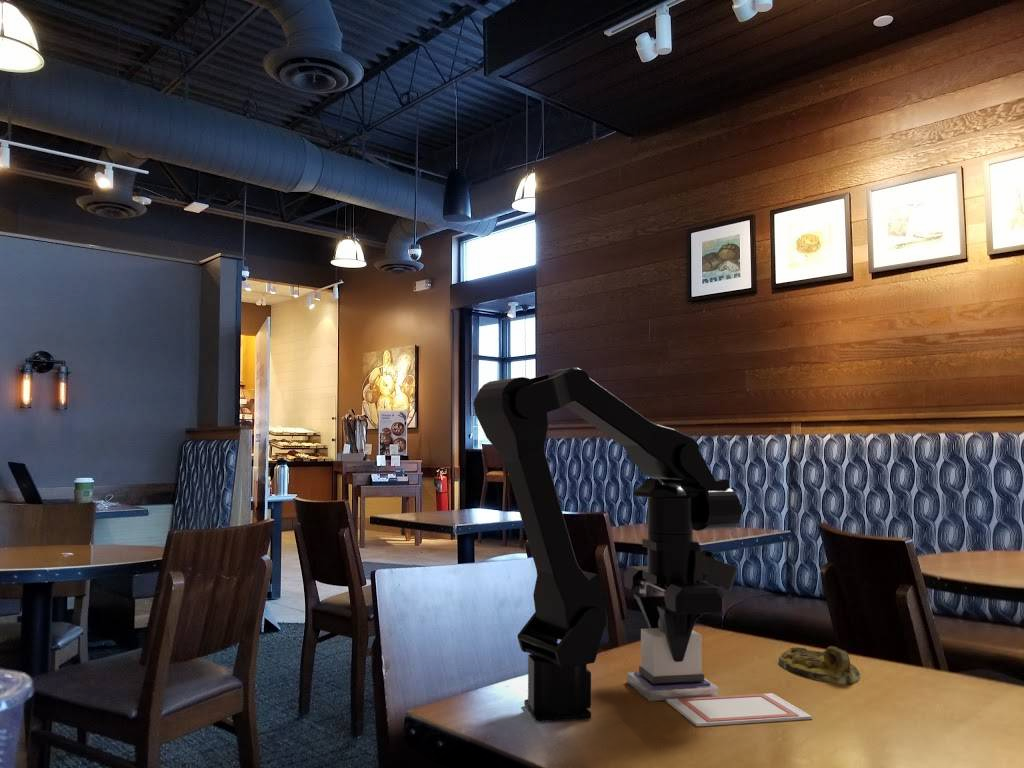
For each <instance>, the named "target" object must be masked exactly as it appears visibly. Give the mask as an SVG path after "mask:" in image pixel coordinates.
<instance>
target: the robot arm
mask: <svg viewBox="0 0 1024 768" xmlns="http://www.w3.org/2000/svg"><path fill="white" fill-rule="evenodd" d="M562 407H565V408H566V409H568V410H570V411H571V412H572V413H573V414H575V415H577V416H578V417H580V418H581V419H582V420H584V421H585V422H587V423H588V424H590V425H591V426H592V427H594V428H596V429H597V430H598V431H600V432H601V433H602V434H604V435H605V436H607V437H608V438H610V439H611V440H613V441H615V443H618V444H619V445H620V446H621V447H623V449H625V451H627V454H628V455H629V458H630V461H631V462H632V463H633V464H634V465H635V466H636V467H637V468H638V469H639V471H641V472H642V473H643V474H644V475H645V476H647V477H648V478H646V479H645V480H644V482H643V483H642V484H641V485H640V486H638V487H637V489H635V490H634V491H633V496H634V497H636V498H647V538H642V547H643V548H646V549H647V565H637V566H636V565H631V566H629V568H628V569H626V571H625V572H624V575H623V576H624V580H623V583H624V588H626V589H629V590H631V591H635V590H636V589H637V587H639V593H637V592H636V593H634V594H633V596H634V598H635V599H636V602H637V604H638V606H639V608H640V610H641V613H642V615H643V618H644V619H645V621H646V624H647V626H648V629H649V628H659V626H658V620H659V617H660V618H661V621H662V625H663V628H664V631H665V635H666V638H667V641H668V645H669V648H670V651H671V654H672V657H673V660H674V661H675V662H682V661H683V659H684V656H685V652H686V649H687V646H688V643H689V639H690V636H691V633H692V630H693V631H694V627H695V623H696V622H697V620H699V619H700V618H702V616H703V615H706V614H709V613H723V612H725V594H724V593H723V592H722V591H721V590H720V589H719V588H721V589H723V590H726V591H729V592H731V590H732V588H733V585H734V581H735V577H736V575H737V571H738V569H739V568H738V567H737V566H733V565H732V564H729V563H726V562H724V561H721V560H718V559H716V558H715V552H714V551H711V550H708V549H705V548H702V546H701V545H700V543H699V542H698V541H695V540H694V537H693V536H694V534H693V533H694V532H693V531H697V532H699V531H701V532H702V531H714V530H715V531H718V530H730V529H733V528H735V527H736V526H737V525H738V524H739V522H740V521H741V517H742V515H743V513H742V512H743V505H742V503H741V502H740V499H739V496H738V494H737V493H736V492H735V491H734V490H733V489H732V488H730V487H731V486H730V485H731V483H730V479H728V478H715V477H714V475H713V473H712V471H711V470H710V467H709V466H708V465H707V462H706V461H705V459H704V456H703V454H701V452H700V450H699V449H700V445H699V443H698V441H696V439H695V438H694V437H692V436H691V435H688V434H686V433H684V432H681V431H679V430H677V429H676V428H671V427H669V426H665V425H661V424H657V423H656V422H652V421H650V420H649V419H647V418H646V416H645V417H644V416H643V415H642V414H641V413H639V412H638V411H636V410H635V409H633V408H632V407H631V406H630V405H629V404H626V402H624V401H623V400H621V398H620V399H619V398H618V397H617V396H616V395H615V394H613V393H612V392H610V391H608V389H606V388H604V387H603V386H602V385H601V384H599V383H598V382H596V381H595V380H593V379H592V378H591V377H590V376H589V375H588V373H587V372H586V371H585V370H583V369H581V368H579V367H569V368H568V367H567V368H560V369H555V370H552V371H551V372H550V373H547V374H543V375H540V376H536V377H532V378H528V377H523V376H520V377H513V378H507V379H498V380H493V381H488V382H486V383H484V384H483V385H482V386H481V387H480V389H479V390H478V391H477V394H476V396H475V397H474V399H473V409H474V413H475V415H476V418H477V421H478V422H479V424H480V427H481V429H482V430H483V433H484V436H485V437H486V438H487V440H488V442H489V443H490V444H491V445H492V446H493V447H494V449H495V450H496V451H497V452H498V454H499V455H500V456H501V458H502V459H503V461H504V464H505V467H506V471H507V474H508V478H509V481H510V484H511V488H512V492H513V494H514V498H515V501H516V504H517V509H518V511H519V514H520V515H519V516H520V519H521V522H522V525H523V529H524V532H525V536H526V539H527V542H528V546H529V549H530V553H531V556H532V559H533V563H534V567H535V569H536V580H535V585H534V590H533V596H532V597H533V602H534V610H535V611H534V613H533V614H532V616H531V617H530V618H529V619H528V621H526V623H525V625H524V626H523V627H522V628H521V629H520V631H519V632H518V634H517V640H518V644H519V648H520V650H521V651H522V652H523V653H527V654H528V659H527V660H528V661H527V662H528V663H527V668H528V669H527V671H528V672H527V673H528V674H527V676H528V677H527V688H528V689H527V699H525V700H524V701H523V703H524V706H525V707H526V709H527V711H528V712H529V713H530V715H531V717H532V718H533V719H534V721H536V722H553V721H570V720H585V719H587V720H589V719H591V718H592V712H591V711H590V710H589V709H590V708H591V707H592V672H591V671H590V670H589V669H588V667H587V665H591V664H594V663H595V662H596V658H597V655H598V652H599V647H600V645H601V641H602V637H603V634H604V631H605V628H606V627H607V626H608V619H609V618H608V613H607V609H610V607H611V606H610V604H609V602H608V601H607V599H606V596H605V595H604V589H603V582H602V579H601V577H600V575H599V574H597V573H592V572H587V571H585V570H583V569H582V568H581V567H580V565H579V564H578V561H577V559H576V555H575V552H574V548H573V545H572V541H571V538H570V534H569V531H568V527H567V523H566V520H565V517H564V514H563V510H562V507H561V503H560V500H559V496H558V493H557V490H556V486H555V482H554V478H553V476H552V472H551V467H550V465H549V461H548V458H547V455H546V450H545V447H546V441H547V434H548V429H549V416H548V413H549V412H552V411H553V412H554V411H555V410H559V409H561V408H562ZM704 581H706V582H704ZM558 641H559V642H558Z"/></svg>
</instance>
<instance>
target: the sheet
mask: <svg viewBox="0 0 1024 768" xmlns="http://www.w3.org/2000/svg"><path fill="white" fill-rule="evenodd" d="M665 702H666V703H667V704H668V705H670V706H671V707H673V709H674V710H676V712H678V713H680V714H681V716H684V717H685V719H687V720H688V721H689V722H690V723H692V724H693V725H695V726H696V727H709V726H710V727H711V726H725V725H727V726H728V725H741V724H753V723H755V724H756V723H770V722H771V723H772V722H787V721H801V720H802V721H803V720H812V719H813V716H812V715H810V714H808V713H807V712H805V711H804V710H801V709H800V708H798V707H797V706H795V705H793V704H792V703H789V702H788V701H786V700H785V699H783V698H781V697H779V696H778V695H777V694H775V693H773V692H772V693H771V692H769V693H756V694H751V693H750V694H734V695H719V696H715V697H697V698H680V699H666V700H665Z"/></svg>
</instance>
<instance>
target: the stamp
mask: <svg viewBox="0 0 1024 768" xmlns="http://www.w3.org/2000/svg"><path fill="white" fill-rule="evenodd" d="M658 626H659V628H649V627H648V628H640V666H638V672H639V673H640V674H641V675H643V676H644V677H645V678H646V679H648V680H649V681H650V682H651V683H653V684H655V683H675V682H694V681H704V678H705V674H704V673H703V649H702V648H703V644H702V643H703V642H702V641H703V640H702V639H703V638H702V634H701V633H699V632H697V631H695V630H694V629H693V630H692V633H691V636H690V639H689V643H688V646H687V649H686V652H685V656H684V659H683V661H682V662H675V661H674V660H673V657H672V654H671V651H670V648H669V645H668V641H667V638H666V635H665V631H664V628H663V625H662V621H661V618H660V617H659V620H658Z"/></svg>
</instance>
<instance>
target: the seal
mask: <svg viewBox="0 0 1024 768" xmlns="http://www.w3.org/2000/svg"><path fill="white" fill-rule="evenodd" d="M849 656H850V655H849V653H848V652H847V651H846V650H843V649H841V648H839V647H837V646H834V645H833V646H832V645H830V646H828V647H826V649H825V650H823V651H817V650H812V649H811V650H808V648H806V647H805V648H804V647H789V649H787V650H786V651H784V652H783V653H781V654H780V655H779V657H778V664H779V665H780V666H781V667H782V668H783V669H785V670H787V671H788V672H791V673H792V674H793V673H794V674H795V675H799V676H802V677H804V678H807V679H812V680H814V681H815V680H816V681H819V682H820V681H821V682H826V683H831V684H832V683H833V684H839V685H846V686H847V685H848V686H850V685H853V684H856V683H857V682H859V681H860V679H861V674H860V672H859V670H858V668H857V667H856V666H855V665H854V664H852V663H851V661H850V660H851V659H850V657H849Z"/></svg>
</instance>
